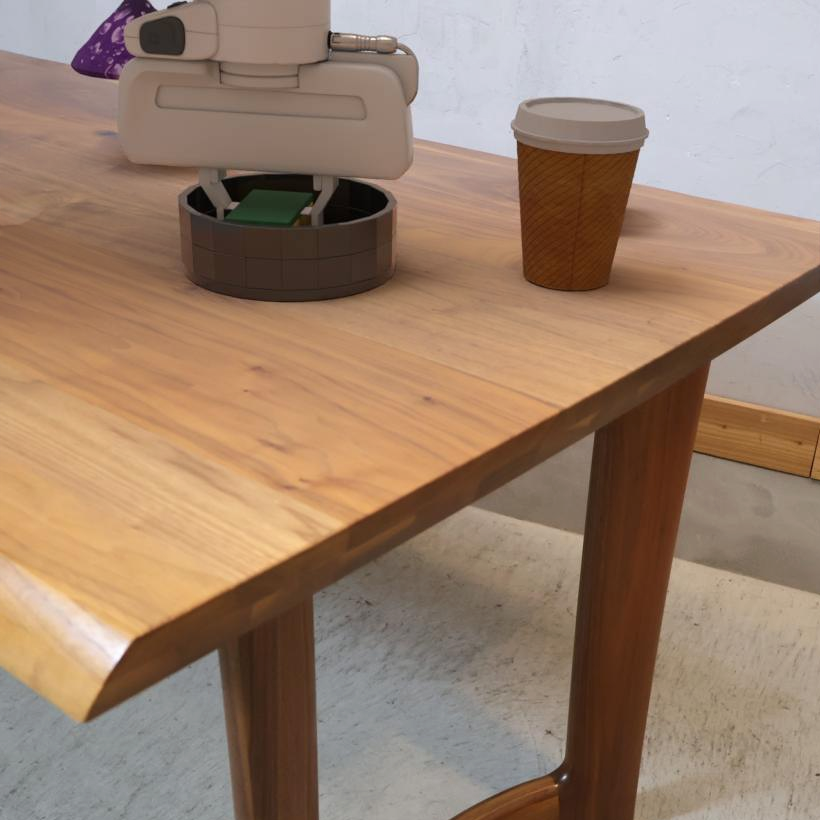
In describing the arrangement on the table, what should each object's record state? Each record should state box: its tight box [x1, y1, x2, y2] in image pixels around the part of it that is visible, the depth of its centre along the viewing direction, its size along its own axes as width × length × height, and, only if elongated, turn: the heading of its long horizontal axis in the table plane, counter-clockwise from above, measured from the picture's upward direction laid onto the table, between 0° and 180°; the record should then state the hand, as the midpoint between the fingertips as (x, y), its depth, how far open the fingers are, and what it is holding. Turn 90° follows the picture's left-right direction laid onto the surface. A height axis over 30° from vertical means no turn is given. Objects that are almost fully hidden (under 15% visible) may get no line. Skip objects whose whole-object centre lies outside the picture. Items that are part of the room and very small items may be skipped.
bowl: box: [177, 172, 398, 302], centre depth 82 cm, size 15×15×5 cm
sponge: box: [224, 189, 313, 227], centre depth 82 cm, size 4×8×4 cm, turn 174°
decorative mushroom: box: [70, 0, 159, 81], centre depth 106 cm, size 12×12×15 cm
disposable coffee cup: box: [510, 96, 650, 291], centre depth 81 cm, size 10×10×12 cm
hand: (270, 232), depth 82 cm, fingers closed on sponge, 4 cm apart
